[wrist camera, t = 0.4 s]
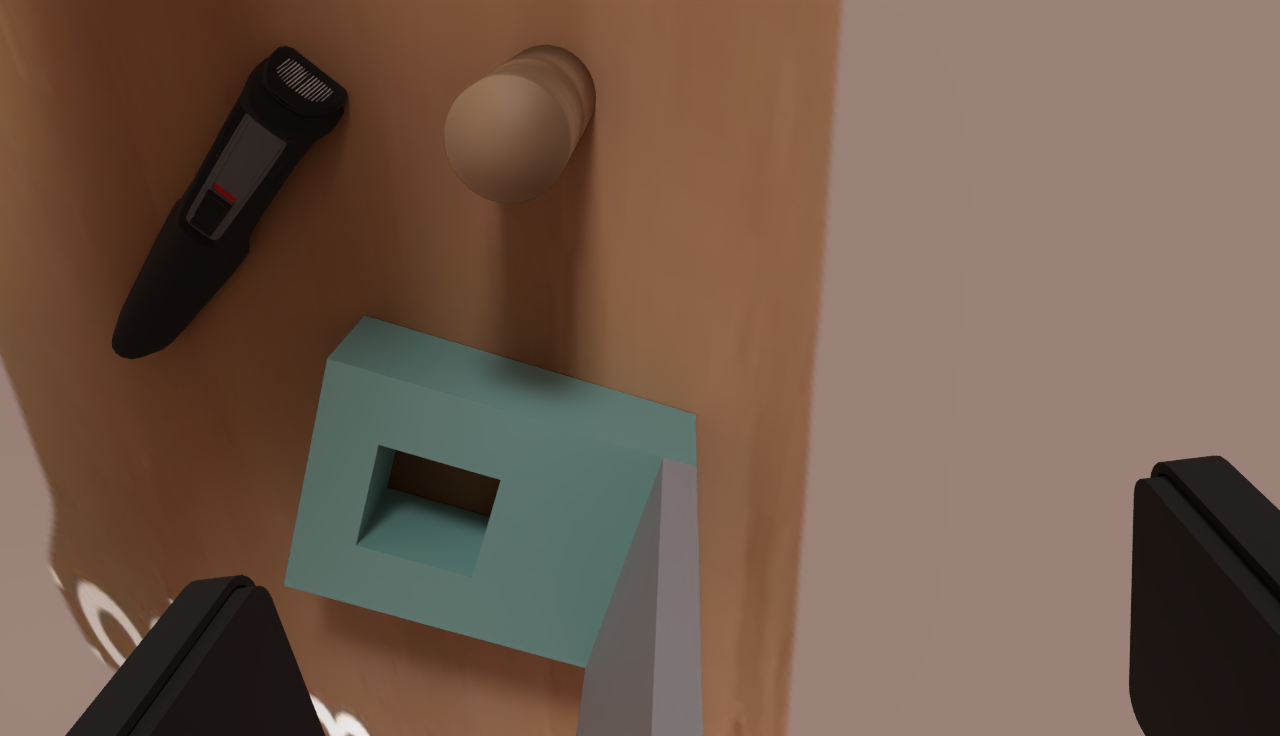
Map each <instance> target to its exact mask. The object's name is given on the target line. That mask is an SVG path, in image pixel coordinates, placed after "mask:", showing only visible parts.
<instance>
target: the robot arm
mask: <svg viewBox="0 0 1280 736" xmlns="http://www.w3.org/2000/svg"><path fill="white" fill-rule="evenodd" d="M1131 592H1132V593H1131V629H1130V630H1131V631H1130V670H1129V692H1130V697H1131V703H1132V707H1133V710H1134V713H1135V716H1136V719H1137V721H1138V723H1139V725H1140V727H1141V729H1142V730H1143V732H1144V734H1145V736H1280V510H1279V509H1277V507H1276V506H1274V505H1273V504H1272V503H1271V502H1270V501H1269V500H1268V499H1267V498H1266V497H1265V496H1264V495H1263V494H1262V493H1261V492H1260V491H1259V490H1258V489H1256V488H1255V487H1254V486H1253V485H1252V484H1251V483H1250V482H1249V481H1248V480H1247V479H1246V478H1245V477H1244V476H1243V475H1242V474H1241V473H1240V472H1239V471H1238V470H1236V469H1235V468H1234V467H1233V466H1232V465H1231V464H1230V463H1229V462H1228V461H1227V460H1225V459H1224V458H1222V457H1221V456H1206V457H1199V458H1190V459H1182V460H1174V461H1166V462H1158V463H1157V464H1156V465H1155V466H1154V467H1153V470H1152V472H1151V478H1146V479H1139V480H1138V481H1137V482H1136V485H1135V489H1134V510H1133V551H1132V591H1131ZM66 736H325V734H324V731H323V729H322V726H321V723H320V721H319V718H318V716H317V713H316V711H315V708H314V706H313V703H312V700H311V698H310V695H309V693H308V690H307V688H306V685H305V682H304V680H303V677H302V675H301V672H300V670H299V667H298V664H297V662H296V659H295V657H294V654H293V652H292V649H291V646H290V644H289V641H288V639H287V636H286V634H285V631H284V628H283V626H282V623H281V621H280V618H279V616H278V613H277V610H276V608H275V605H274V603H273V600H272V598H271V596H270V594H269V592H268V591H267V590H266V589H265V588H264V587H262V586H255V584H254V582H253V581H252V580H251V579H250V578H249V577H247V576H244V575H237V576H229V577H221V578H213V579H204V580H197V581H193V582H191V583H189V584H188V585H187V586H186V587H185V588H184V589H183V590H182V591H181V593H180V594H179V595H178V596H177V598H176V599H175V600H174V601H173V603H172V604H171V605H170V606H169V608H168V609H167V610H166V611H165V613H164V614H163V615H162V616H161V618H160V619H159V620H158V621H157V623H156V624H155V625H154V626H153V628H152V629H151V630H150V631H149V632H148V634H147V635H146V636H145V637H144V639H143V640H142V641H141V642H140V644H139V645H138V646H137V647H136V649H135V650H134V651H133V652H132V654H131V655H130V656H129V657H128V659H127V660H126V661H125V662H124V664H123V665H122V666H121V667H120V668H119V670H118V671H117V672H116V673H115V675H114V676H113V677H112V678H111V680H110V681H109V682H108V683H107V685H106V686H105V687H104V688H103V690H102V691H101V692H100V693H99V695H98V696H97V697H96V698H95V700H94V701H93V702H92V703H91V705H90V706H89V707H88V708H87V709H86V711H85V712H84V713H83V714H82V716H81V717H80V718H79V719H78V721H77V722H76V723H75V725H74V726H73V727H72V728H71V729H70V731H69V732H68V733H67V734H66Z"/></svg>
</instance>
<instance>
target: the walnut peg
mask: <svg viewBox="0 0 1280 736" xmlns="http://www.w3.org/2000/svg"><path fill="white" fill-rule="evenodd" d="M595 100H596V94H595V86H594V83H593V79H592V77H591V75H590V72H589V71H588V69H587V68H586V66H585V65H584V64H583V62H582V61H581V60H580V59H579V58H578V57H576V56H575V55H574V54H572V53H571V52H569V51H567V50H565V49H563V48H560V47H556V46H550V45H540V46H534V47H531V48H528V49H526V50H524V51H522V52H521V53H519V54H518V55H516V56H515V57H513V58H512V59H510V60H509V61H507V62H506V63H504V64H503V65H501V66H500V67H498V68H497V69H495V70H494V71H492V72H491V73H489V74H488V75H486V76H485V77H483V78H482V79H480V80H479V81H477V82H476V83H474V84H473V85H471V86H470V87H468V88H467V89H466V90H465V91H464V92H462V93H461V94H460V95H459V97H458V98H457V99H456V100H455V102H454V103H453V105H452V107H451V108H450V111H449V113H448V115H447V119H446V122H445V129H444V143H445V149H446V154H447V157H448V160H449V162H450V164H451V166H452V168H453V170H454V172H455V173H456V175H457V176H458V177H459V179H460V180H461V181H462V182H463V183H464V184H465V185H466V186H467V187H468V188H469V189H471V190H472V191H473V192H475V193H476V194H478V195H480V196H482V197H484V198H486V199H489V200H491V201H495V202H499V203H521V202H525V201H529V200H532V199H534V198H536V197H538V196H540V195H542V194H543V193H545V192H546V191H547V190H548V189H550V188H551V187H552V186H553V185H554V184H555V182H556V181H557V180H558V178H559V177H560V175H561V173H562V172H563V170H564V168H565V166H566V164H567V162H568V160H569V158H570V157H571V155H572V153H573V151H574V149H575V147H576V145H577V144H578V142H579V140H580V138H581V136H582V134H583V132H584V130H585V129H586V127H587V125H588V123H589V121H590V119H591V117H592V114H593V112H594V108H595Z"/></svg>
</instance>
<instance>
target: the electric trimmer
mask: <svg viewBox="0 0 1280 736" xmlns="http://www.w3.org/2000/svg"><path fill="white" fill-rule="evenodd" d="M346 98H347V92H346V90H345V89H344V88H343V87H341V86H340V85H339V84H338V83H337V82H335V81H334V80H333V79H331V78H330V77H329V76H328V75H326V74H325V73H324V72H323V71H321V70H320V69H319V68H317V67H316V66H315V65H314V64H312V63H311V62H310V61H308V60H307V59H306V58H305V57H303V56H302V55H301V54H299V53H298V52H297V51H295V50H294V49H293V48H290V47H286V46H284V47H279V48H278V49H277V50H275V51H274V52H273V53H272V54H271V56H270V57H268V58H266V59H265V60H264V61H262V62H261V63H260V64H259V65H258V66H257V67H255V69H254V70H253V71H252V73H251V74H250V75H249V78H248V80H247V82H246V84H245V87H244V89H243V91H242V93H241V95H240V97H239V98H238V100H237V102H236V104H235V105H234V107H233V109H232V111H231V112H230V114H229V116H228V118H227V119H226V121H225V123H224V125H223V127H222V128H221V130H220V132H219V134H218V136H217V138H216V139H215V141H214V143H213V145H212V147H211V149H210V150H209V152H208V154H207V156H206V158H205V160H204V162H203V163H202V165H201V167H200V169H199V171H198V173H197V174H196V176H195V178H194V180H193V181H192V183H191V184H190V186H189V187H188V189H187V191H186V192H185V194H184V195H183V197H182V198H181V199H180V200H178V201H177V202H176V204H175V205H174V207H173V209H172V210H171V212H170V214H169V216H168V218H167V220H166V221H165V223H164V225H163V227H162V229H161V231H160V233H159V235H158V237H157V239H156V241H155V243H154V245H153V247H152V249H151V251H150V253H149V255H148V257H147V259H146V261H145V263H144V265H143V267H142V269H141V271H140V273H139V275H138V277H137V279H136V281H135V283H134V285H133V287H132V289H131V291H130V293H129V295H128V297H127V299H126V301H125V303H124V306H123V308H122V310H121V312H120V315H119V318H118V321H117V325H116V328H115V331H114V334H113V338H112V348H113V349H114V351H115V353H116V354H118V355H119V356H121V357H124V358H129V359H136V358H140V357H144V356H146V355H149V354H152V353H154V352H157V351H159V350H162V349H164V348H165V347H166V346H168V345H169V344H170V343H172V342H173V341H174V340H175V338H176V337H177V336H178V335H179V334H180V333H181V332H182V331H183V330H184V329H185V327H186V326H187V325H188V324H189V323H190V322H191V321H192V320H193V318H194V317H195V316H196V315H197V314H198V313H199V312H200V310H201V309H202V308H203V307H204V306H205V305H206V304H207V302H208V301H209V300H210V299H211V298H212V297H213V296H214V294H215V293H216V292H217V291H218V290H219V289H220V288H221V286H222V285H223V284H224V283H225V282H226V281H227V280H228V278H229V277H230V276H231V275H232V274H233V272H234V271H235V270H236V269H237V267H238V266H239V265H240V264H241V262H242V261H243V260H244V259H245V257H246V256H247V254H248V252H249V238H250V235H251V233H252V230H253V227H254V226H255V224H256V223H257V221H258V220H259V218H260V217H261V216H262V214H263V213H264V211H265V210H266V208H267V207H268V205H269V204H270V202H271V201H272V199H273V198H274V196H275V195H276V193H277V192H278V190H279V189H280V187H281V186H282V185H283V183H284V182H285V180H286V179H287V177H288V176H289V174H290V173H291V172H292V170H293V169H294V167H295V166H296V165H297V163H298V162H299V161H300V159H301V158H302V157H303V155H304V154H305V153H306V151H307V150H308V149H309V148H310V147H311V146H312V145H313V144H314V142H316V141H317V140H319V139H320V138H322V137H323V136H325V135H326V134H328V133H329V132H330V131H331V130H332V129H333V128H334V127H335V126H336V124H337V123H338V121H339V120H340V118H341V117H342V115H343V113H344V108H343V106H342V105H343V103H344V101H345V100H346Z"/></svg>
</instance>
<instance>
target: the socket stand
mask: <svg viewBox="0 0 1280 736" xmlns="http://www.w3.org/2000/svg"><path fill="white" fill-rule="evenodd" d="M396 450H398V451H402V452H405V453H409V454H412V455H416V456H419V457H423V458H426V459H430V460H433V461H437V462H440V463H444V464H447V465H450V466H454V467H457V468H461V469H464V470H468V471H471V472H475V473H478V474H482V475H485V476H489V477H492V478H496V479H499V480H501V481H500V484H499V488H498V491H497V495H496V498H495V501H494V505H493V508H492V512H491V515H490V517H489V516H485V515H482V514H478V513H475V512H471V511H468V510H464V509H461V508H457V507H454V506H450V505H447V504H443V503H439V502H436V501H432V500H429V499H425V498H422V497H418V496H415V495H411V494H408V493H404V492H401V491H397V490H394V489H390V488H387V487H388V482H389V478H390V474H391V470H392V465H393V461H394V457H395V453H396ZM284 586H287V587H290V588H294V589H298V590H301V591H305V592H309V593H312V594H316V595H320V596H323V597H327V598H330V599H334V600H338V601H341V602H345V603H349V604H352V605H356V606H360V607H363V608H367V609H371V610H374V611H378V612H382V613H385V614H389V615H393V616H396V617H400V618H404V619H407V620H411V621H415V622H418V623H422V624H426V625H429V626H433V627H436V628H440V629H444V630H447V631H451V632H455V633H458V634H462V635H466V636H469V637H473V638H477V639H480V640H484V641H488V642H491V643H495V644H499V645H502V646H506V647H510V648H513V649H517V650H521V651H524V652H528V653H532V654H535V655H539V656H542V657H546V658H550V659H553V660H557V661H561V662H564V663H568V664H572V665H575V666H579V667H583V668H585V675H584V682H583V689H582V697H581V704H580V711H579V719H578V726H577V733H576V736H703V720H702V676H701V631H700V587H699V543H698V499H697V455H696V414H692V413H689V412H686V411H682V410H679V409H676V408H672V407H669V406H666V405H662V404H659V403H656V402H652V401H649V400H645V399H642V398H639V397H635V396H632V395H629V394H625V393H622V392H619V391H615V390H612V389H609V388H605V387H602V386H599V385H595V384H592V383H589V382H585V381H582V380H579V379H575V378H572V377H569V376H565V375H562V374H559V373H555V372H552V371H549V370H545V369H542V368H539V367H535V366H532V365H529V364H525V363H522V362H519V361H515V360H512V359H509V358H505V357H502V356H499V355H495V354H492V353H489V352H485V351H482V350H479V349H475V348H472V347H468V346H465V345H462V344H458V343H455V342H452V341H448V340H445V339H442V338H438V337H435V336H432V335H428V334H425V333H422V332H418V331H415V330H412V329H408V328H405V327H402V326H398V325H395V324H392V323H388V322H385V321H382V320H378V319H375V318H372V317H368V316H365V315H364V316H363V317H362V318H361V320H360V321H359V322H358V323H357V324H356V325H355V327H354V328H353V329H352V330H351V331H350V332H349V334H348V335H347V336H346V337H345V338H344V339H343V341H342V342H341V343H340V344H339V345H338V346H337V348H336V349H335V350H334V351H333V352H332V353H331V355H330V356H329V357H328V358H327V362H326V367H325V372H324V378H323V383H322V388H321V393H320V398H319V404H318V409H317V414H316V419H315V424H314V430H313V435H312V440H311V445H310V450H309V456H308V461H307V466H306V471H305V476H304V482H303V487H302V492H301V497H300V502H299V508H298V513H297V518H296V523H295V528H294V534H293V539H292V544H291V549H290V554H289V560H288V565H287V570H286V575H285V580H284Z"/></svg>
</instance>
